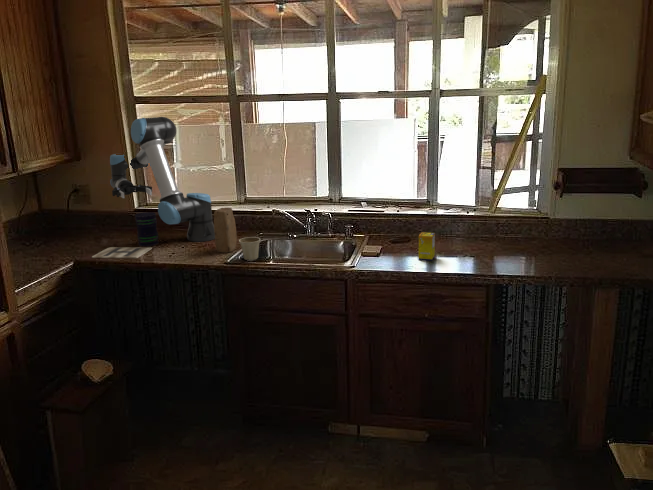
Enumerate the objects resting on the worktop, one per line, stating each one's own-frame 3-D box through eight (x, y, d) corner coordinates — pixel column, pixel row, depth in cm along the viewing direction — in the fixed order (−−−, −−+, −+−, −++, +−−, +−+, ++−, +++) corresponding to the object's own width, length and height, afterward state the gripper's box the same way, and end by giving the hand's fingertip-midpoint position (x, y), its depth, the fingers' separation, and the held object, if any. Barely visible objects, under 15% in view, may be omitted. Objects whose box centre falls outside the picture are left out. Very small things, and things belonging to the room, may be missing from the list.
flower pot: (251, 262, 250) (249, 243, 248) (235, 259, 256) (234, 240, 253) (266, 257, 257) (264, 238, 255) (250, 254, 263) (249, 236, 260)
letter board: (152, 248, 278) (151, 247, 278) (137, 258, 262) (136, 256, 262) (109, 248, 281) (109, 247, 281) (91, 257, 265) (91, 256, 265)
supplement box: (421, 256, 251) (421, 232, 248) (434, 257, 249) (435, 232, 246) (418, 260, 246) (418, 235, 243) (432, 261, 244) (432, 236, 241)
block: (229, 253, 265) (225, 211, 260) (214, 252, 267) (210, 210, 262) (239, 247, 275) (236, 206, 269) (225, 246, 277) (222, 205, 272)
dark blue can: (162, 240, 292) (158, 212, 288) (154, 246, 282) (151, 216, 278) (143, 241, 293) (139, 212, 289) (135, 246, 283) (131, 216, 279)
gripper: (148, 191, 313) (162, 198, 296) (101, 196, 299) (112, 204, 283) (147, 177, 311) (161, 184, 294) (99, 182, 297) (111, 189, 281)
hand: (137, 194), depth 288 cm, fingers open, 13 cm apart
